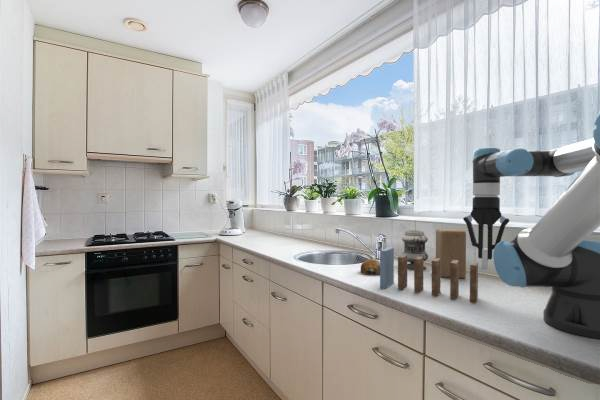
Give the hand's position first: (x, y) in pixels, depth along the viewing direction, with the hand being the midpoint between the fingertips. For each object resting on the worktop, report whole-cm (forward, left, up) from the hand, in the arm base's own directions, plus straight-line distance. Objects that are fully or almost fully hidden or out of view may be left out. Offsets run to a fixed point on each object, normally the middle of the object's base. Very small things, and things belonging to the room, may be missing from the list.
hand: (485, 268), depth 98 cm
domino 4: (+4, +8, -11) cm, 14 cm away
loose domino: (+1, +3, -11) cm, 11 cm away
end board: (+16, +28, -11) cm, 34 cm away
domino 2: (+10, +18, -11) cm, 23 cm away
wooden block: (+34, -3, -11) cm, 35 cm away
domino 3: (+7, +13, -11) cm, 18 cm away
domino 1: (+13, +23, -11) cm, 28 cm away
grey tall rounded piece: (+48, +8, -11) cm, 50 cm away
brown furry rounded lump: (+36, +31, -11) cm, 48 cm away
